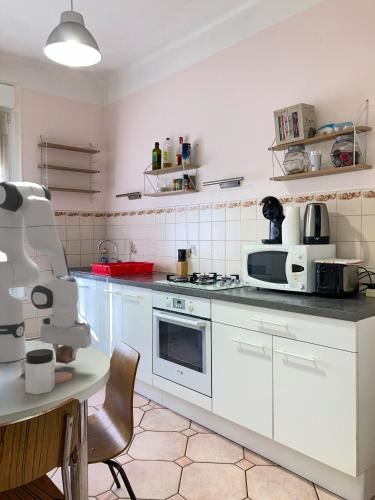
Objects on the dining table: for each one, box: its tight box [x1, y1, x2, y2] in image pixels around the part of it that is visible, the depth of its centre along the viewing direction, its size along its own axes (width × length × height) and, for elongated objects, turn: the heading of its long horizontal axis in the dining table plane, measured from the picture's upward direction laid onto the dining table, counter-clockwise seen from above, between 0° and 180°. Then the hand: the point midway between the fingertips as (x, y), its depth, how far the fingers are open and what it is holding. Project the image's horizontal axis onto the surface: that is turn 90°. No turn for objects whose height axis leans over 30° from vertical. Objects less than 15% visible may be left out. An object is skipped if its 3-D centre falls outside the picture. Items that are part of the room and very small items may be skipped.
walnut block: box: [55, 345, 76, 365], centre depth 152 cm, size 5×5×5 cm
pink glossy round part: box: [54, 371, 73, 384], centre depth 141 cm, size 9×9×1 cm
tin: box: [20, 359, 26, 377], centre depth 145 cm, size 5×5×5 cm
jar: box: [24, 348, 56, 396], centre depth 130 cm, size 9×8×12 cm
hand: (65, 356), depth 152 cm, fingers closed on walnut block, 5 cm apart
